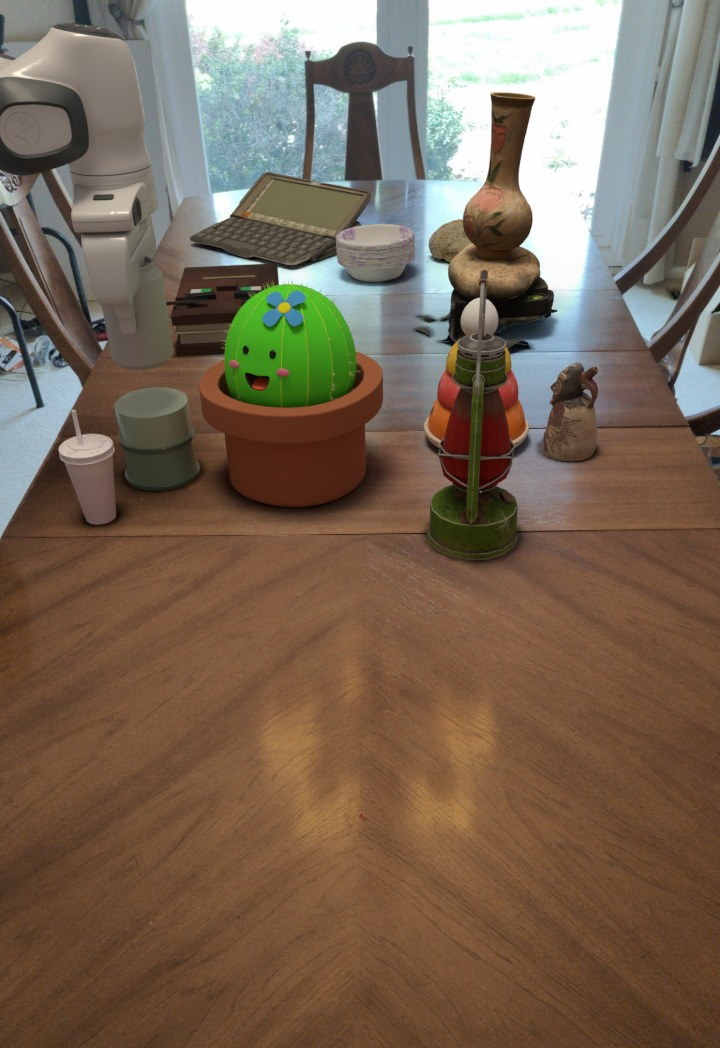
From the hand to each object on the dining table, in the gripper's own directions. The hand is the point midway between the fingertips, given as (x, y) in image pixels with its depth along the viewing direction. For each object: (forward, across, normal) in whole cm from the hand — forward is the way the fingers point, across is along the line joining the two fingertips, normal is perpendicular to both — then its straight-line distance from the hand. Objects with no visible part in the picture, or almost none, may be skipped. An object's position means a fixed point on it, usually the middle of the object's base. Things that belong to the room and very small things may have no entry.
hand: (136, 319), depth 117 cm
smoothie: (+21, +11, -6) cm, 24 cm away
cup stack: (+20, 0, 0) cm, 21 cm away
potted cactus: (+21, +2, +18) cm, 28 cm away
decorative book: (+21, -54, +4) cm, 58 cm away
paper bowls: (+21, -80, +30) cm, 88 cm away
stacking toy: (+21, -7, +42) cm, 47 cm away
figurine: (+21, -3, +54) cm, 58 cm away
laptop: (+21, -104, +10) cm, 107 cm away
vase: (+21, -50, +49) cm, 73 cm away
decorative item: (+21, -89, +47) cm, 103 cm away
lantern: (+21, +18, +39) cm, 48 cm away
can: (+5, 0, 0) cm, 5 cm away
